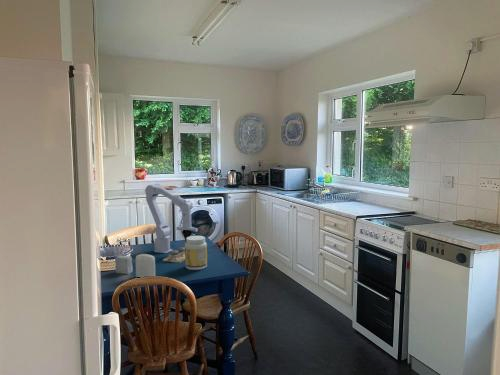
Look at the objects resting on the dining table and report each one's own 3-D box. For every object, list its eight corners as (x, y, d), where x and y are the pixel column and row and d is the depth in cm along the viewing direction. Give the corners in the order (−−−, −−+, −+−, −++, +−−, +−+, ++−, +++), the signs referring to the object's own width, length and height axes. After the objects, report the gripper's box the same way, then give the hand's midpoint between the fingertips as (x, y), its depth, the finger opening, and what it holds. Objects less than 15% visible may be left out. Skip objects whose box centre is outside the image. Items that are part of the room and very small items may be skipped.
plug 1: (169, 258, 226) (169, 251, 225) (174, 256, 230) (173, 249, 229) (176, 259, 224) (175, 252, 223) (180, 257, 228) (180, 250, 227)
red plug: (182, 249, 238) (182, 242, 238) (186, 247, 242) (186, 241, 242) (188, 250, 236) (188, 243, 236) (192, 248, 240) (192, 241, 240)
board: (162, 260, 225) (162, 254, 225) (183, 251, 246) (183, 245, 245) (179, 262, 221) (179, 256, 220) (199, 252, 241) (199, 247, 240)
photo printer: (156, 276, 198) (156, 253, 197) (153, 279, 194) (152, 256, 193) (139, 275, 201) (138, 252, 199) (134, 278, 196) (133, 255, 195)
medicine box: (133, 271, 206) (132, 256, 205) (127, 274, 202) (127, 258, 201) (120, 270, 209) (120, 255, 208) (115, 273, 205) (114, 257, 204)
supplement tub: (181, 266, 214) (180, 237, 212) (200, 262, 222) (199, 234, 220) (192, 272, 204) (191, 241, 203) (211, 267, 212) (210, 238, 210)
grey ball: (176, 255, 232) (176, 248, 231) (180, 253, 236) (180, 246, 235) (182, 256, 230) (182, 249, 230) (186, 254, 234) (186, 247, 234)
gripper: (173, 221, 236) (174, 242, 238) (193, 222, 231) (194, 244, 232) (179, 218, 243) (180, 239, 244) (199, 220, 237) (199, 241, 239)
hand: (187, 241), depth 239 cm, fingers closed
